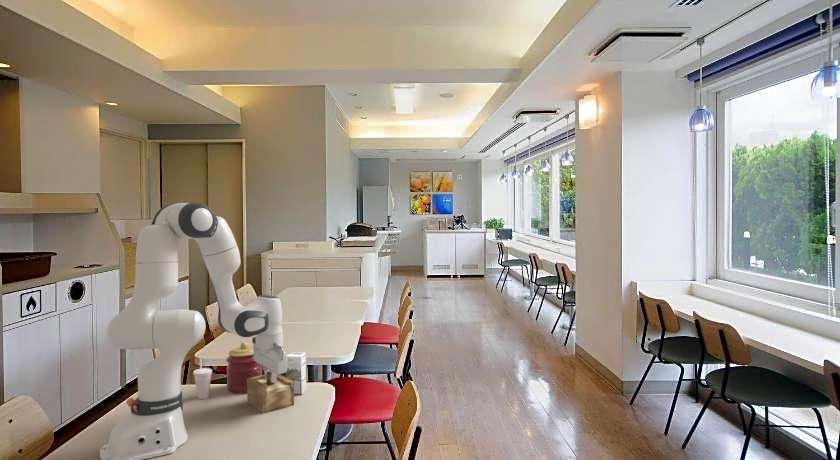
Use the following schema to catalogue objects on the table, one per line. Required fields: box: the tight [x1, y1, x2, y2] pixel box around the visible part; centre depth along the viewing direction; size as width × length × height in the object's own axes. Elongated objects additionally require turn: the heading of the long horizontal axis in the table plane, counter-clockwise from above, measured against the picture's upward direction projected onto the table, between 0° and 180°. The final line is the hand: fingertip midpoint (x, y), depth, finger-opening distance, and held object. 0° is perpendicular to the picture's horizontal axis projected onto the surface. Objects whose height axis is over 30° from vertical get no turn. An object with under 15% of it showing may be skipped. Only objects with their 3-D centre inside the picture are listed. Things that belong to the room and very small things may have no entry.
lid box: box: [246, 374, 295, 414], centre depth 181 cm, size 11×14×8 cm
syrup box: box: [286, 351, 307, 396], centre depth 192 cm, size 6×6×14 cm
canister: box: [225, 341, 263, 395], centre depth 196 cm, size 13×13×18 cm
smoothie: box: [192, 358, 213, 400], centre depth 188 cm, size 6×6×14 cm
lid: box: [257, 370, 290, 395], centre depth 180 cm, size 8×13×5 cm
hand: (270, 380), depth 180 cm, fingers closed on lid, 3 cm apart
